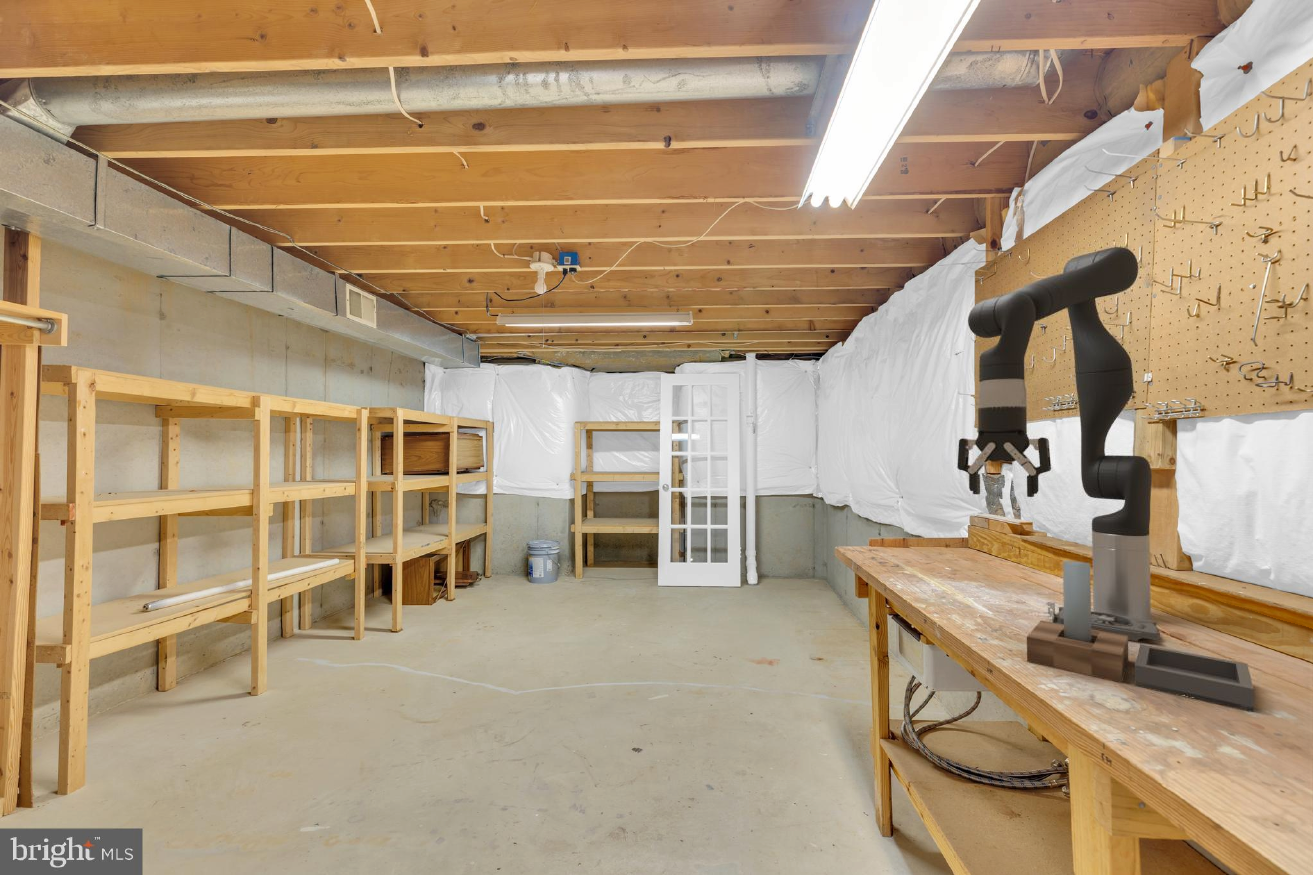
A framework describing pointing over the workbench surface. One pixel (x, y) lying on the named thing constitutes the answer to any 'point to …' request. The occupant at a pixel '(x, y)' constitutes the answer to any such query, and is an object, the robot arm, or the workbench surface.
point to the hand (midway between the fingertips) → (1002, 495)
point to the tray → (1195, 676)
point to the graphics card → (1114, 624)
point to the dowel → (1077, 600)
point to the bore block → (1079, 651)
